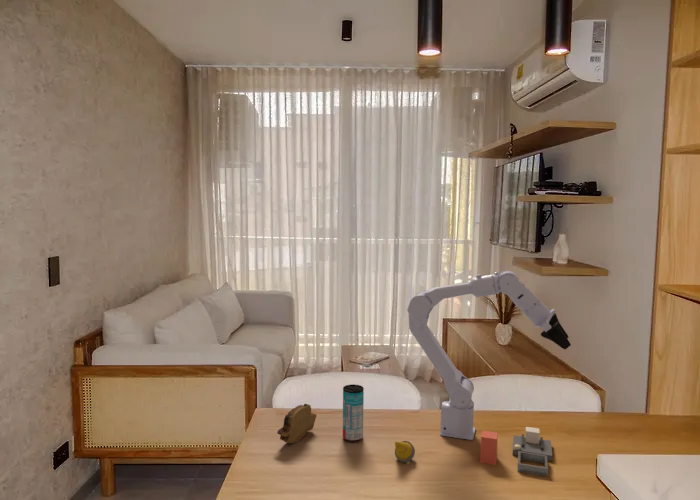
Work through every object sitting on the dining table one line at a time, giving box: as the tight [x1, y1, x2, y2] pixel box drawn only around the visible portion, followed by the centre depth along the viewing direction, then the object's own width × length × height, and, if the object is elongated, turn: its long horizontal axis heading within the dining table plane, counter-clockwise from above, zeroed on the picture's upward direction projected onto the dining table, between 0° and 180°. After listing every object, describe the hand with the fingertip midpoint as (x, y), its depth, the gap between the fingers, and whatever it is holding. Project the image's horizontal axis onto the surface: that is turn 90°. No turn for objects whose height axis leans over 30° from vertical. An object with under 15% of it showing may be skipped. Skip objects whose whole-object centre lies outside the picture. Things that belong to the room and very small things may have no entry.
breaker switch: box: [524, 426, 541, 444], centre depth 145 cm, size 4×3×3 cm
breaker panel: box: [512, 433, 553, 462], centre depth 143 cm, size 10×9×2 cm
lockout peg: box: [479, 430, 499, 466], centre depth 137 cm, size 4×4×7 cm
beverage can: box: [342, 384, 365, 443], centre depth 148 cm, size 6×6×15 cm
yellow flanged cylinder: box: [394, 440, 416, 463], centre depth 136 cm, size 5×5×10 cm
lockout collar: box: [517, 451, 549, 477], centre depth 134 cm, size 7×7×2 cm
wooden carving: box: [277, 403, 317, 444], centre depth 148 cm, size 16×5×10 cm, turn 155°
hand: (566, 343), depth 142 cm, fingers open, 7 cm apart
